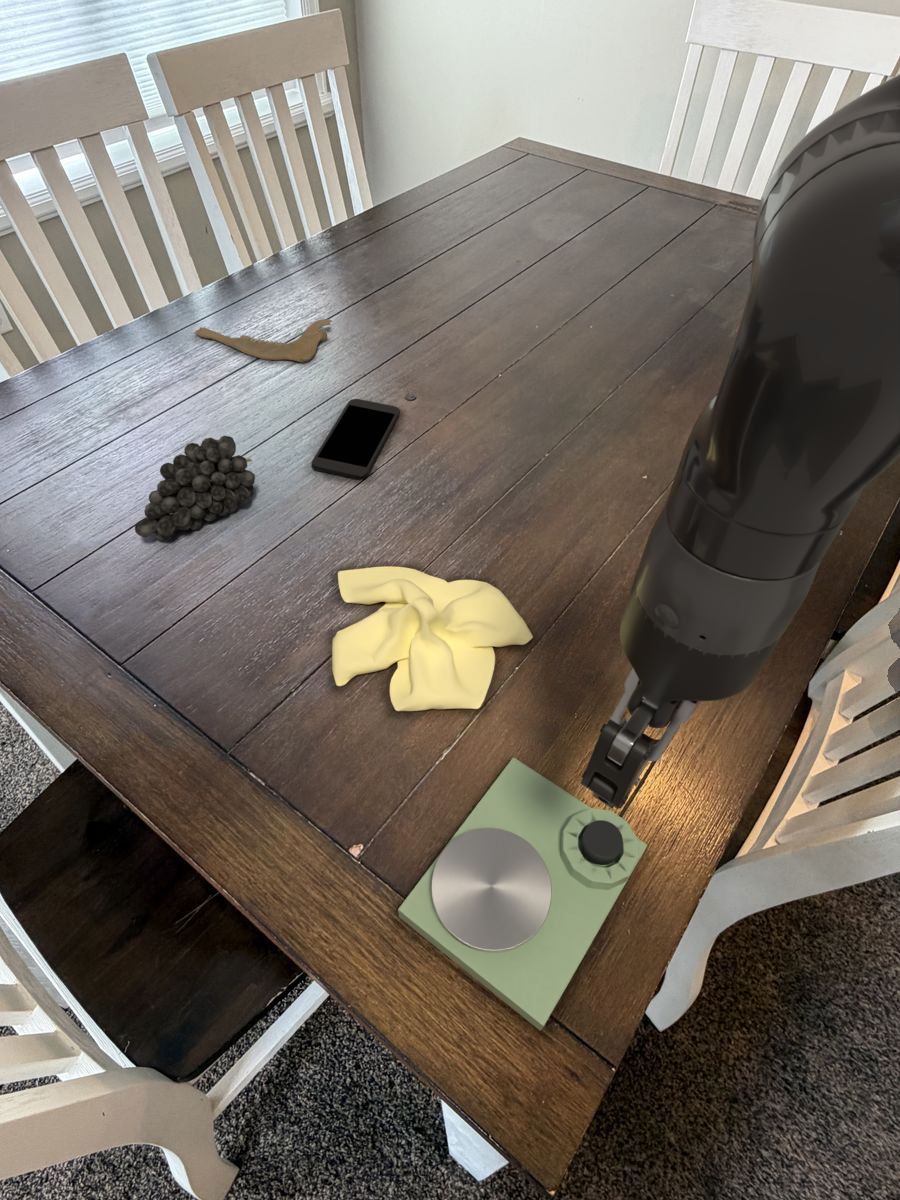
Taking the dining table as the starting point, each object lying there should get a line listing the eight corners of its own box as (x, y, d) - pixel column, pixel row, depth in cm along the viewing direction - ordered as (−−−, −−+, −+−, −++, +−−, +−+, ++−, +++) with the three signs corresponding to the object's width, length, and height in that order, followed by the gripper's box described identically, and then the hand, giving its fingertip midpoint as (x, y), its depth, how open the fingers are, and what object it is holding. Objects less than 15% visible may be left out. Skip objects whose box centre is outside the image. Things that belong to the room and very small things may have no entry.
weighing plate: (476, 809, 59) (476, 805, 58) (573, 876, 56) (574, 873, 55) (406, 901, 54) (406, 898, 54) (507, 981, 51) (508, 979, 50)
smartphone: (403, 411, 98) (402, 405, 98) (365, 482, 89) (365, 476, 88) (351, 401, 99) (350, 396, 99) (308, 470, 90) (308, 465, 89)
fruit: (127, 498, 73) (248, 429, 80) (95, 482, 78) (211, 418, 85) (167, 567, 78) (277, 496, 85) (134, 547, 84) (241, 482, 91)
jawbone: (333, 366, 106) (331, 354, 104) (189, 373, 104) (185, 361, 103) (333, 328, 111) (331, 316, 109) (195, 334, 109) (192, 322, 108)
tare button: (592, 820, 59) (596, 812, 58) (625, 842, 58) (629, 834, 57) (573, 850, 57) (576, 842, 56) (607, 873, 56) (611, 865, 55)
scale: (511, 766, 65) (515, 747, 62) (642, 853, 60) (652, 836, 58) (398, 916, 57) (396, 902, 54) (540, 1031, 52) (546, 1021, 49)
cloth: (549, 607, 77) (557, 568, 72) (476, 748, 66) (479, 713, 61) (366, 538, 83) (362, 498, 78) (271, 657, 72) (260, 619, 67)
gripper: (725, 731, 31) (638, 869, 43) (837, 542, 38) (736, 706, 51) (572, 641, 33) (532, 795, 46) (705, 482, 41) (639, 651, 53)
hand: (639, 748), depth 48 cm, fingers open, 8 cm apart
